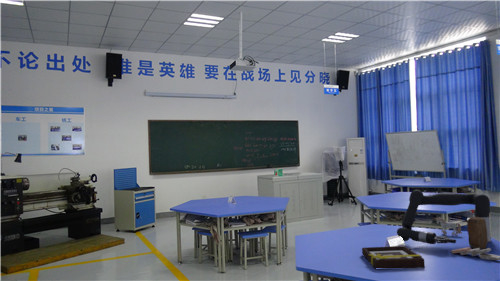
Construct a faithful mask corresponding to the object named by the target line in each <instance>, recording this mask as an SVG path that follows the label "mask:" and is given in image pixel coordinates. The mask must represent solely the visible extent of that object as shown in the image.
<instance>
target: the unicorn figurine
mask: <svg viewBox="0 0 500 281" xmlns="http://www.w3.org/2000/svg"><path fill="white" fill-rule="evenodd" d="M432 219H433V220H435V221H436V224H437V225H439V224H440V226H441V228H440V231H441V233H442V234H443V236H448V235H447V234H448V232H447V231H446V229H453V231H452V233H451V235H452V236H457V235H460V234H463V232H462V226H461V224H460V223H459V222H452V221H451V222H450V221H449V222H448V221H447V220H445V219H444V218H443V217H440V216H439V217H435V218H434V217H432Z"/></svg>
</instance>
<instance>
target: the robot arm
mask: <svg viewBox="0 0 500 281" xmlns="http://www.w3.org/2000/svg"><path fill="white" fill-rule="evenodd" d="M408 200H409V203H408V206H407V209H406V212H405V213H404V216H403V219H402V222H401V227H399V228H397V230H396V235H397V236H398V237H399V236H401V237H402V238H403V240H404V241H403V240H402V241H403V242H408V241H409V240H410V239H411V240H412V241H414V242H419V243H424V244H428V245H429V244H430V245H436V244H449V243H450V244H456V243H457V240H456V239H455V238H450V237H449V236H447V235H443V236H442V235H437V234H436V232H431V231H421V230H414V229H412V228H413V224H414V222H415V218H416V214H417V211H418V208H419V206H428V205H429V206H458V205H472V206H474V209H475V210H474V211H473V217H480V218H483V219H485V221H486V228H487V240H488V241H487V242H488V243H490V242H492V233H491V220H490V219H491V218H490V215H491V201H490V198H489V196H488V195H485V194H483V193H481V192H478V193H477V192H476V193H458V192H457V193H455V192H439V193H434V194H431V195H424V193H423V191H421V190H420V189H415V190H412V191H411V192H410V194H409V199H408Z"/></svg>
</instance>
